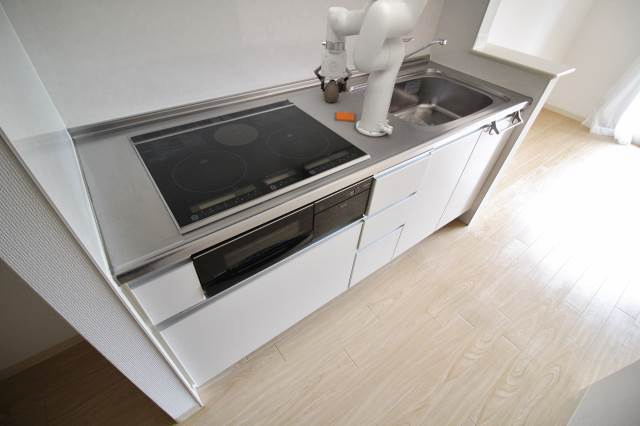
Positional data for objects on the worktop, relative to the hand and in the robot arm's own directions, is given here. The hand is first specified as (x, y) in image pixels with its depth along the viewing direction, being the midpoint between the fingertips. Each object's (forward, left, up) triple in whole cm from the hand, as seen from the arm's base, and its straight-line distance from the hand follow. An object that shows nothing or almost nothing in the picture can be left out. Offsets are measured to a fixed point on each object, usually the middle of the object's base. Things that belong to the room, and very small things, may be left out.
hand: (331, 91), depth 125 cm
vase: (0, 0, -4) cm, 4 cm away
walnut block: (+7, -14, -5) cm, 16 cm away
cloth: (-14, +7, -5) cm, 16 cm away
